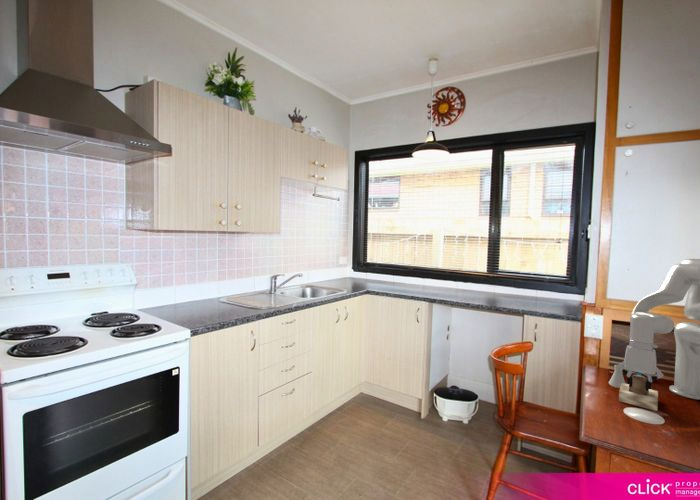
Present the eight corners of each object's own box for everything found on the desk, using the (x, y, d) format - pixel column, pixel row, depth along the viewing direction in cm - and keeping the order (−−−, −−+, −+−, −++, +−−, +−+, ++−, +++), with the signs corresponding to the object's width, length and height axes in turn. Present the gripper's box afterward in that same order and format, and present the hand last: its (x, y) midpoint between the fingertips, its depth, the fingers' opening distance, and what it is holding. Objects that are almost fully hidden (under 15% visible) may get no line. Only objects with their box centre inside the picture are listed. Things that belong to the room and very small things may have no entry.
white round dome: (644, 410, 139) (644, 407, 139) (673, 426, 127) (673, 423, 127) (615, 410, 139) (615, 407, 139) (642, 427, 127) (642, 423, 127)
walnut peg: (638, 397, 148) (639, 374, 148) (649, 403, 143) (650, 379, 143) (627, 397, 148) (628, 374, 147) (637, 403, 143) (639, 379, 142)
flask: (620, 384, 164) (621, 363, 164) (631, 391, 157) (632, 369, 156) (604, 383, 165) (605, 362, 164) (614, 390, 158) (615, 368, 157)
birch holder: (657, 402, 146) (658, 391, 146) (657, 413, 137) (657, 400, 137) (621, 393, 154) (621, 382, 154) (618, 403, 145) (619, 391, 145)
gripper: (668, 347, 142) (666, 391, 142) (616, 338, 153) (614, 379, 154) (669, 352, 136) (666, 397, 137) (614, 342, 147) (612, 385, 148)
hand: (638, 387), depth 145 cm, fingers closed on walnut peg, 4 cm apart
